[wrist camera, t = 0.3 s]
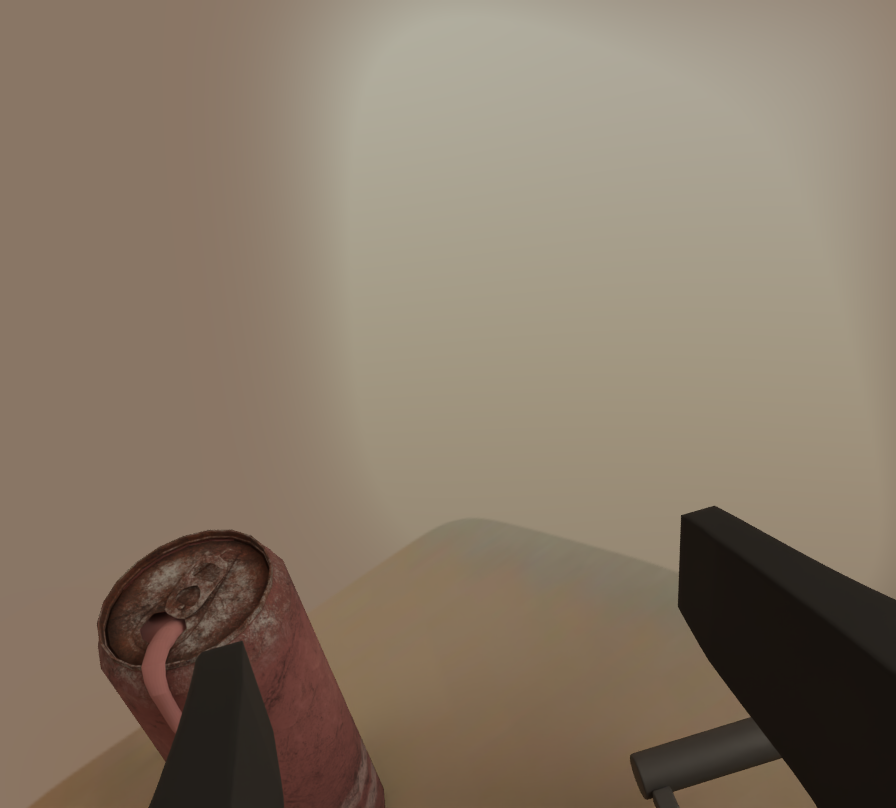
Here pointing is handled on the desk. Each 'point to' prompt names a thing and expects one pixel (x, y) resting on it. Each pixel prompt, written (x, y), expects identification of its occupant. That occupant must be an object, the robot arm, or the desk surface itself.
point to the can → (268, 648)
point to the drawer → (699, 760)
